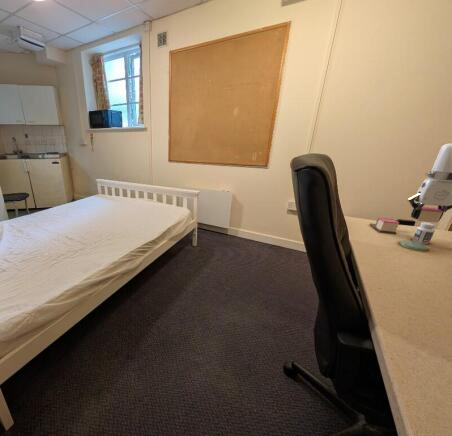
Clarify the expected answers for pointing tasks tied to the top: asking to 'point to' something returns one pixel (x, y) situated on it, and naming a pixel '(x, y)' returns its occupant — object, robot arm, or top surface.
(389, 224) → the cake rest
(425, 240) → the pill bottle
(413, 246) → the plate
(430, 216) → the cake slice
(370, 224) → the cake board
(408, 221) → the knife
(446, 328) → the top surface
